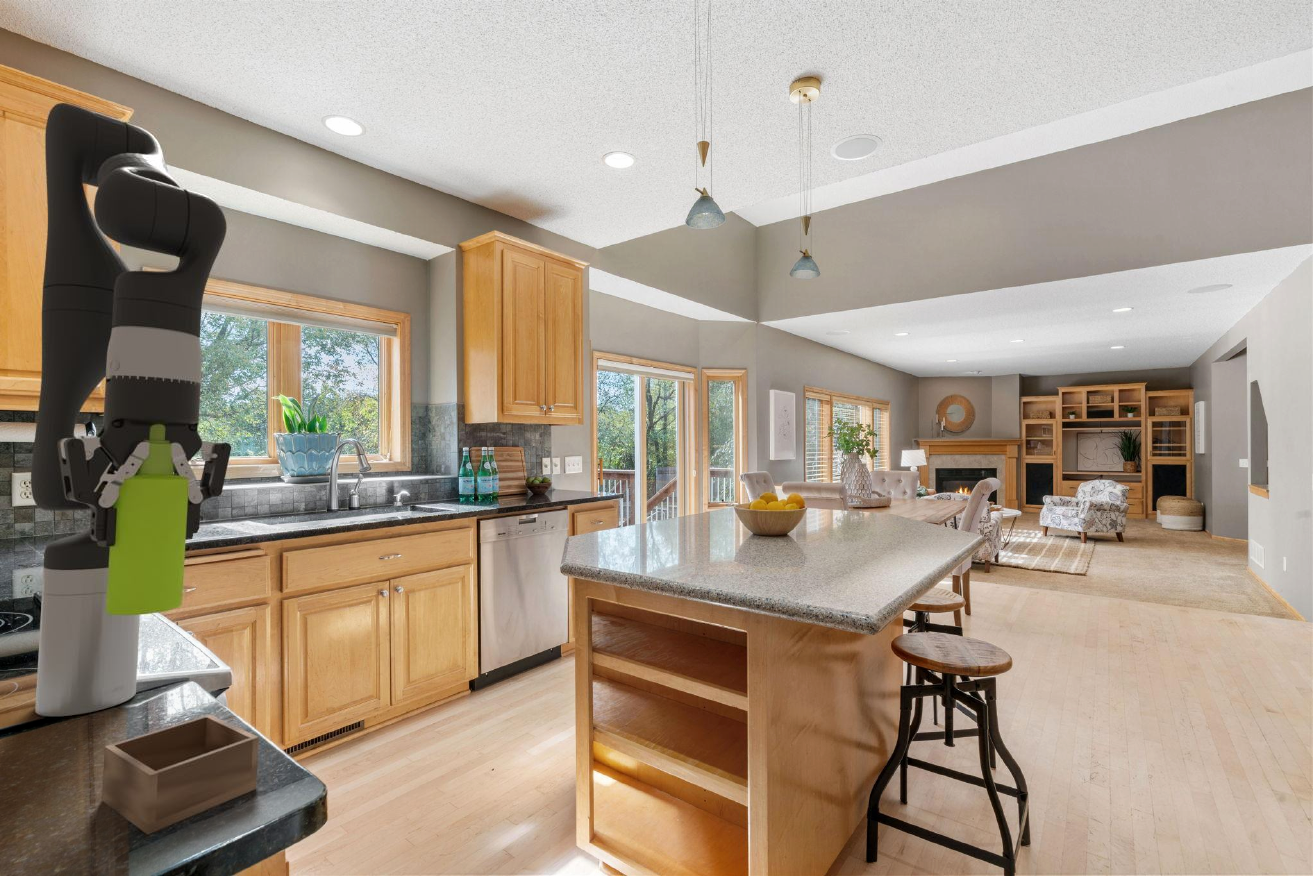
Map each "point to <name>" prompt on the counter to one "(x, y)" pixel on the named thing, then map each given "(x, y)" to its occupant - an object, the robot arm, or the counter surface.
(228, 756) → the walnut caddy
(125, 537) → the soap dispenser
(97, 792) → the counter surface
